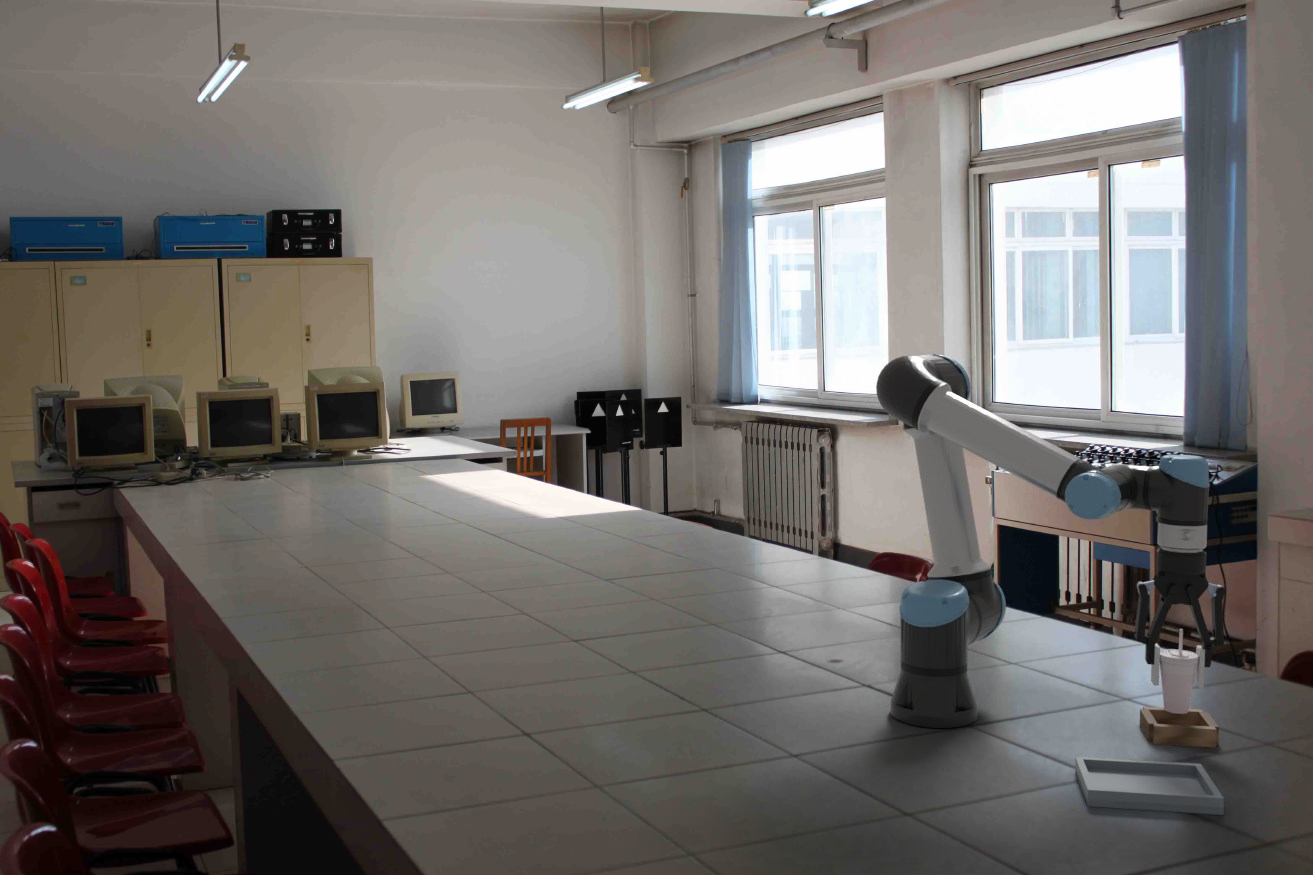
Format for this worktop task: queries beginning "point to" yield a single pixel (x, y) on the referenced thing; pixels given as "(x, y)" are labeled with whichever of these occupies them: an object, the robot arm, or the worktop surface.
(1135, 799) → the tray
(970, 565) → the robot arm
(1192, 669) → the smoothie
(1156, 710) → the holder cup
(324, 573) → the worktop surface
